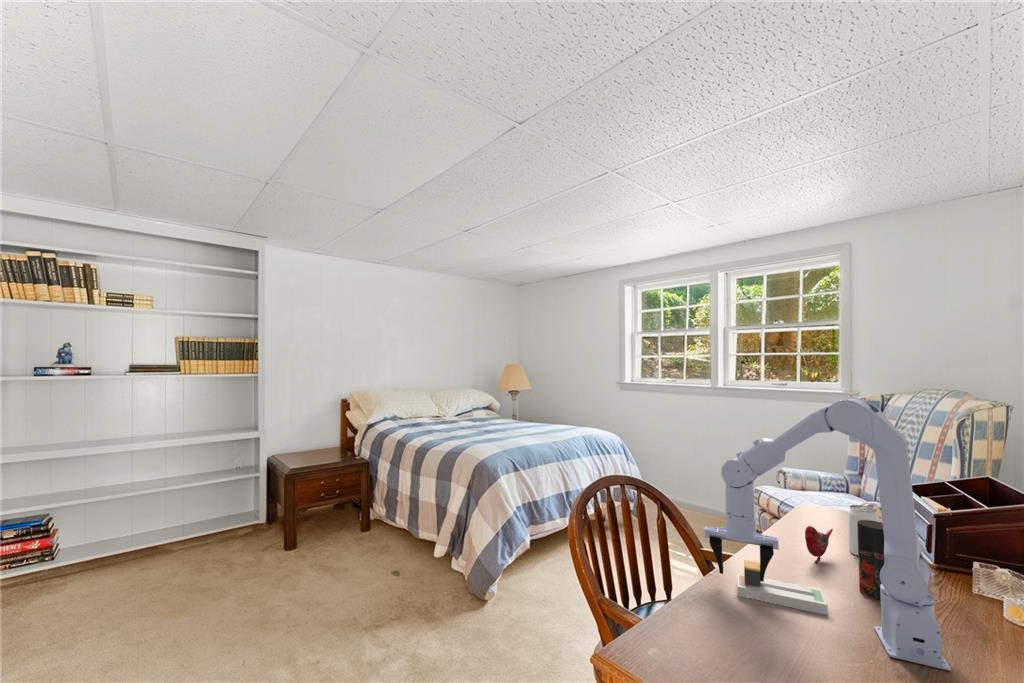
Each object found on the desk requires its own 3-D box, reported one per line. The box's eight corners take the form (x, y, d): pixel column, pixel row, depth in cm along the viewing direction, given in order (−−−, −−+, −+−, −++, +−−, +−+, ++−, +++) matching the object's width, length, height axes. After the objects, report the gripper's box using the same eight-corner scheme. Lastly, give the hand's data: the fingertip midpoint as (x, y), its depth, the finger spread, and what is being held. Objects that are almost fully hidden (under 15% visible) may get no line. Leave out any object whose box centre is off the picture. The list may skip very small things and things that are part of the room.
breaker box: (827, 615, 89) (827, 604, 89) (737, 596, 96) (737, 586, 96) (821, 598, 95) (821, 588, 96) (737, 582, 103) (737, 572, 103)
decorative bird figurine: (800, 568, 110) (799, 526, 110) (826, 550, 121) (825, 512, 121) (813, 572, 108) (812, 530, 108) (839, 554, 118) (838, 515, 119)
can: (878, 553, 119) (876, 507, 120) (882, 562, 114) (880, 513, 114) (848, 547, 123) (846, 503, 123) (850, 556, 117) (849, 509, 118)
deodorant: (901, 603, 94) (898, 530, 94) (869, 600, 95) (866, 528, 96) (884, 589, 100) (881, 521, 100) (853, 586, 101) (851, 519, 101)
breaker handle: (760, 586, 96) (760, 569, 96) (744, 583, 97) (744, 567, 97) (759, 578, 99) (759, 562, 100) (744, 575, 101) (744, 559, 101)
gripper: (776, 512, 100) (777, 575, 100) (705, 503, 107) (706, 561, 106) (778, 522, 94) (780, 589, 93) (703, 512, 101) (704, 574, 100)
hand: (741, 575), depth 99 cm, fingers open, 7 cm apart
